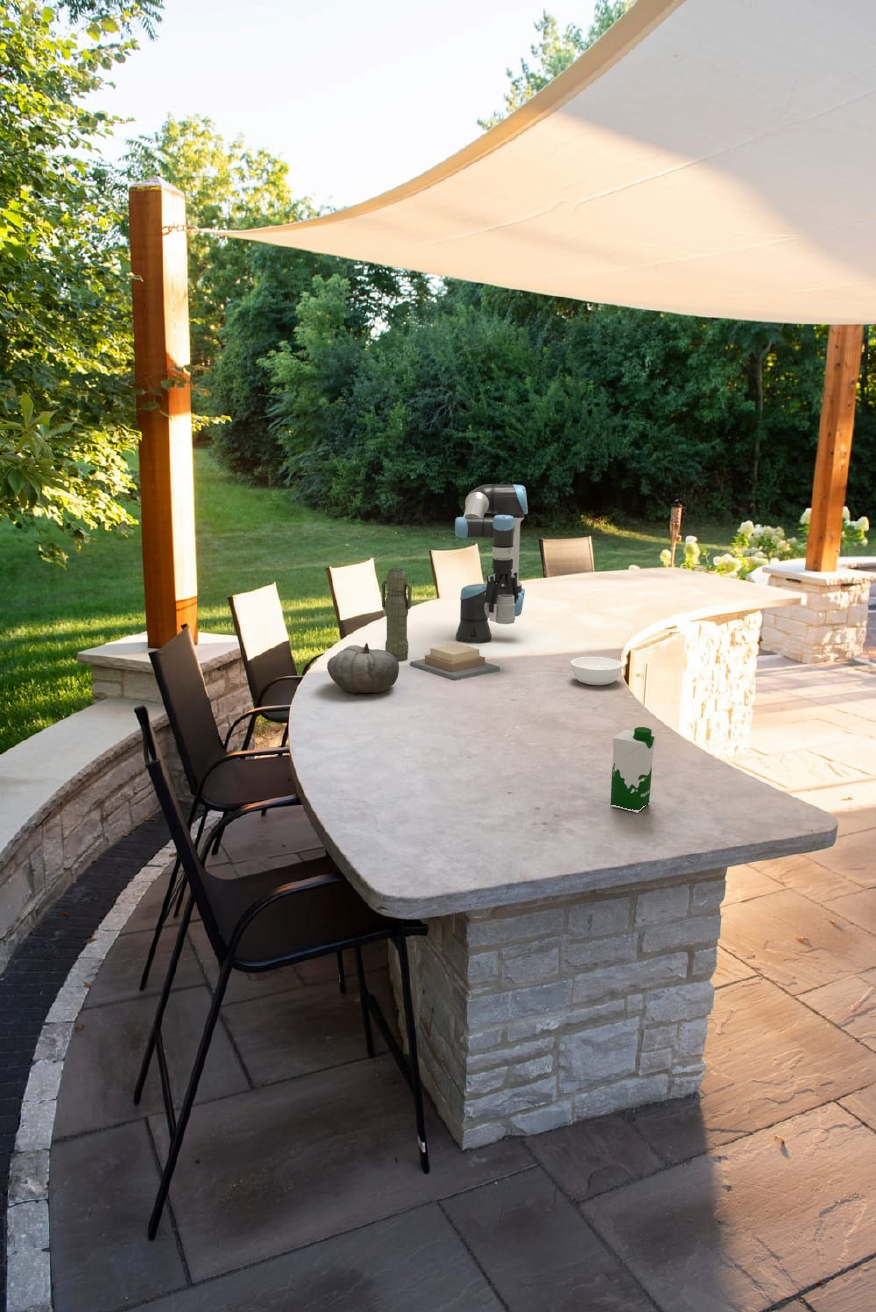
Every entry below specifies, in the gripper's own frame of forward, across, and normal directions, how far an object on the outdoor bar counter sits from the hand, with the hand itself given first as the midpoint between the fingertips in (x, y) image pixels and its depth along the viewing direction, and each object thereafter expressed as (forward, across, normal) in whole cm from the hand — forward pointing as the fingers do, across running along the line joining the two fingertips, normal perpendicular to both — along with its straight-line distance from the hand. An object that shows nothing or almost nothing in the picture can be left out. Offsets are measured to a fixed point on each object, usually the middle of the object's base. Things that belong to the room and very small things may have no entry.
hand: (501, 619), depth 347 cm
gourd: (+19, -56, +11) cm, 60 cm away
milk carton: (+18, -66, -111) cm, 130 cm away
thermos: (+19, -21, +36) cm, 46 cm away
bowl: (+19, +13, -35) cm, 42 cm away
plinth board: (+19, -12, +12) cm, 25 cm away
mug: (+1, -1, 0) cm, 1 cm away
